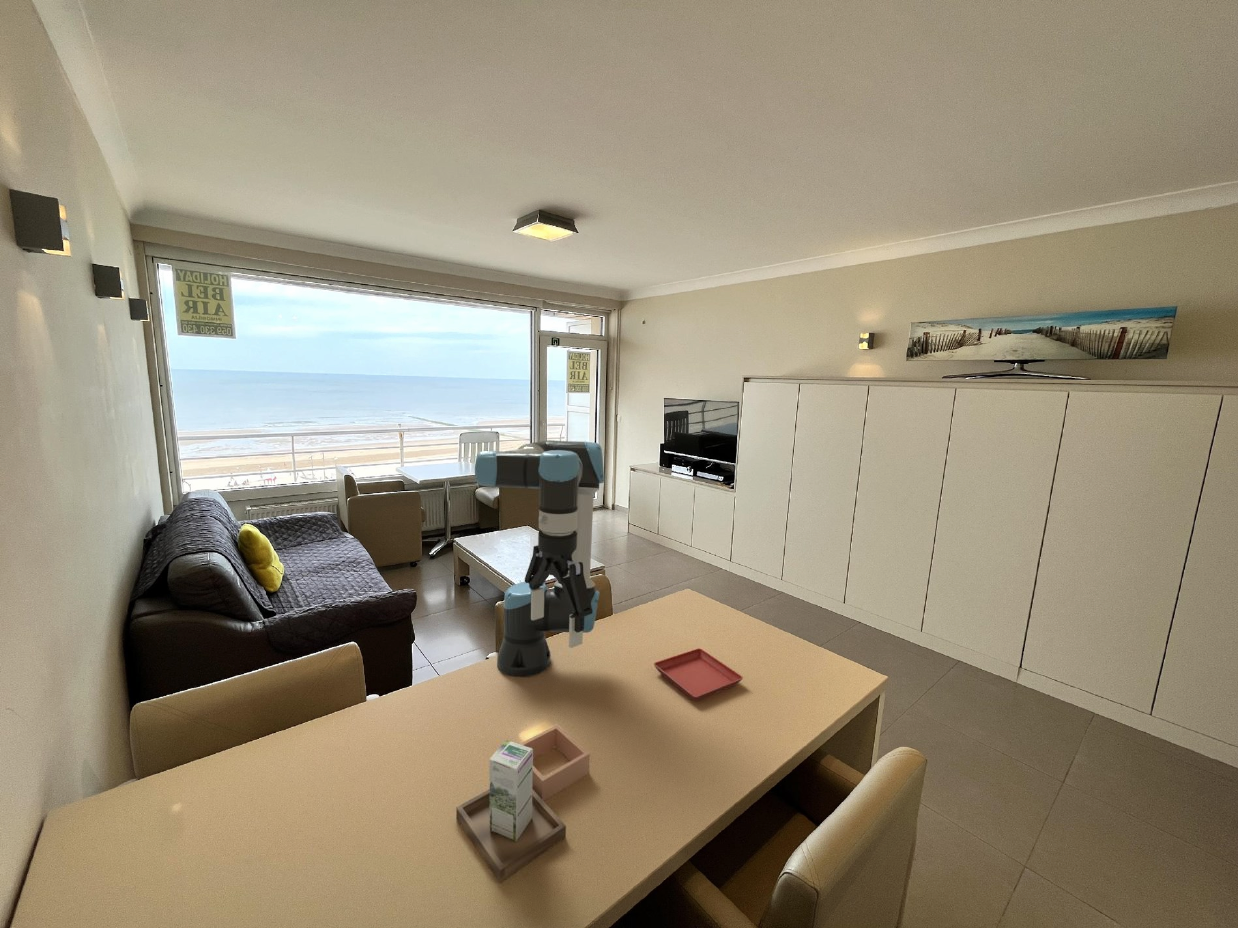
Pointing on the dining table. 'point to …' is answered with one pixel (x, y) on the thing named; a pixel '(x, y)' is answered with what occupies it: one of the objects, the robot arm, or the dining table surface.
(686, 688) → the plant saucer
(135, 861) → the dining table surface
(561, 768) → the holder
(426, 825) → the dining table surface
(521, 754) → the syrup box
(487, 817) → the tray
